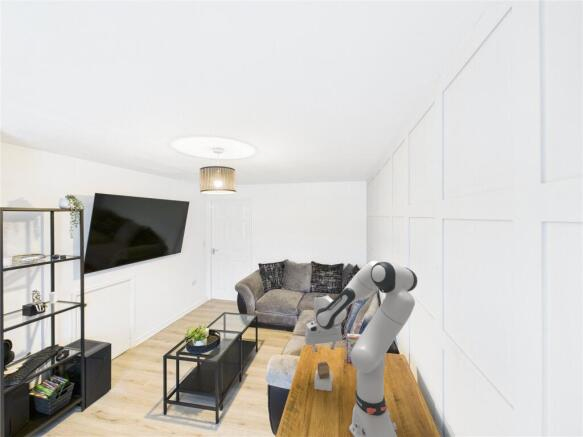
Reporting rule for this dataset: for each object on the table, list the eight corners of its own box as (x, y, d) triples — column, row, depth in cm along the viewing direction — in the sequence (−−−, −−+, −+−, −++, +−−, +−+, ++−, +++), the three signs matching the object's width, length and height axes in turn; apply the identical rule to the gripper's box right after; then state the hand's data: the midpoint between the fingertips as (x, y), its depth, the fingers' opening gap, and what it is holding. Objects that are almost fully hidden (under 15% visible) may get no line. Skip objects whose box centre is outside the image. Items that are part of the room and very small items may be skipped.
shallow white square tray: (331, 391, 127) (331, 381, 127) (314, 389, 129) (314, 379, 129) (332, 380, 136) (332, 371, 136) (316, 378, 138) (316, 369, 138)
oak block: (329, 378, 131) (329, 366, 131) (320, 379, 130) (320, 367, 130) (326, 372, 136) (326, 361, 136) (317, 373, 135) (317, 362, 135)
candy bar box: (347, 363, 152) (346, 336, 153) (346, 358, 157) (345, 333, 158) (365, 364, 151) (365, 337, 152) (363, 359, 156) (363, 333, 157)
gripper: (338, 320, 138) (340, 345, 137) (303, 324, 135) (304, 350, 134) (343, 324, 132) (344, 350, 131) (305, 329, 128) (307, 355, 128)
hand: (324, 350), depth 132 cm, fingers open, 8 cm apart
